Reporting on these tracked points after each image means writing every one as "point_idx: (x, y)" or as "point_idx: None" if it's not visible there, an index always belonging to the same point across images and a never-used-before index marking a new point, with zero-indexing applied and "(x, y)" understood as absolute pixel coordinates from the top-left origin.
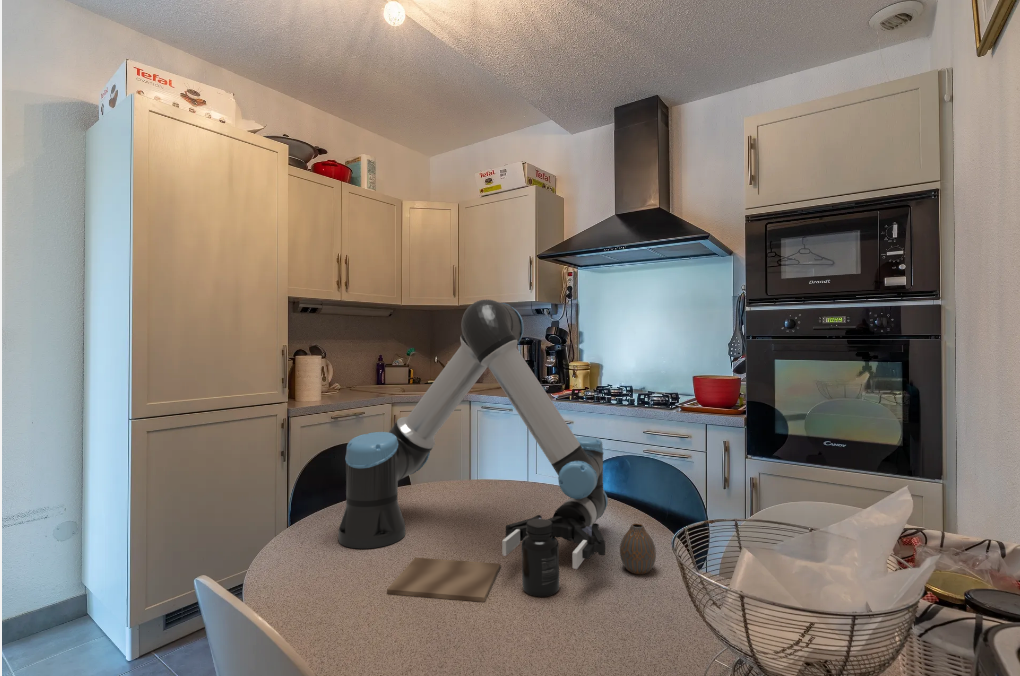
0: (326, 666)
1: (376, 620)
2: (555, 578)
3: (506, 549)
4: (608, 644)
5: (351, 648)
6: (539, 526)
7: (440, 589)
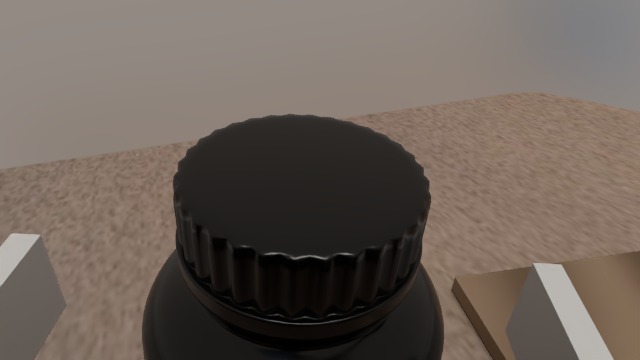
0: (526, 92)
1: (607, 166)
2: None
3: (518, 310)
4: (16, 217)
5: (542, 115)
6: (275, 121)
7: (631, 278)
